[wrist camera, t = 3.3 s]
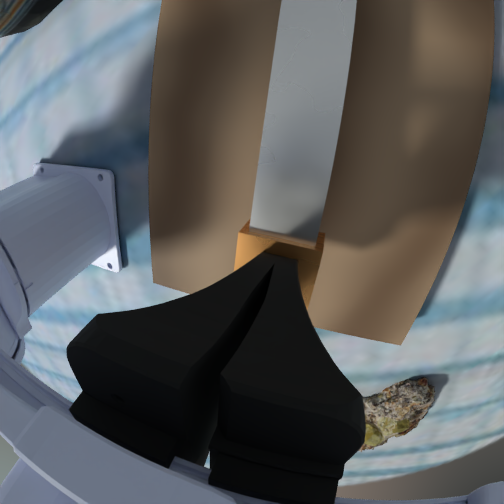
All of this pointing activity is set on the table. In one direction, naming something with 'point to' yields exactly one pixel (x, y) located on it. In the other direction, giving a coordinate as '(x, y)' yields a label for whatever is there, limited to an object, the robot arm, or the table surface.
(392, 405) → the mineral rock
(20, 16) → the beer stein
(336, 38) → the press lever
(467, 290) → the table surface
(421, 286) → the base
